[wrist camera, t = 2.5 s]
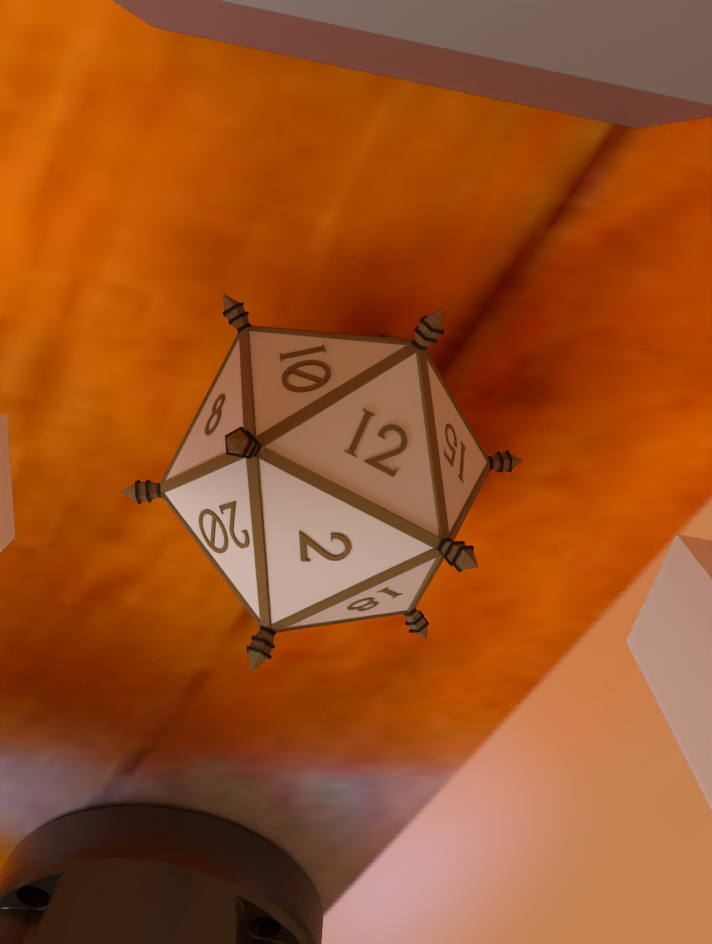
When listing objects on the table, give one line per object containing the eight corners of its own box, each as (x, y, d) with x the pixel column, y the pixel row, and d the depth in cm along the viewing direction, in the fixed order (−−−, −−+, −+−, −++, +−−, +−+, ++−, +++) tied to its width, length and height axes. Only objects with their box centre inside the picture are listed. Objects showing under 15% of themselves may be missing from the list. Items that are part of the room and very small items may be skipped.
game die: (338, 434, 24) (226, 702, 19) (187, 248, 18) (-29, 560, 13) (586, 415, 18) (520, 778, 14) (483, 145, 13) (307, 600, 8)
